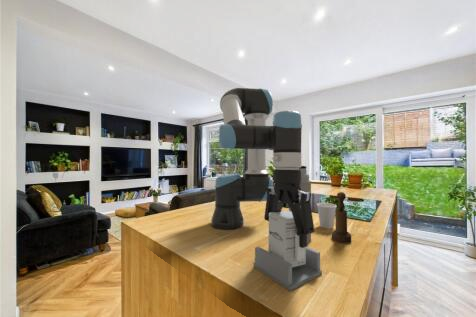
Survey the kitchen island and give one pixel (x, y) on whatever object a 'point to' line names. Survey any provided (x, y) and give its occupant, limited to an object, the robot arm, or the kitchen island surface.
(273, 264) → the holder
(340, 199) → the brown wooden turned piece
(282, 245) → the supplement box
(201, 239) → the kitchen island surface
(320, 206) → the dixie cup
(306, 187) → the thermos bottle
